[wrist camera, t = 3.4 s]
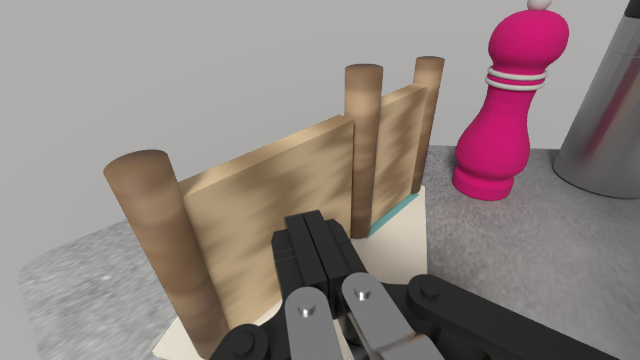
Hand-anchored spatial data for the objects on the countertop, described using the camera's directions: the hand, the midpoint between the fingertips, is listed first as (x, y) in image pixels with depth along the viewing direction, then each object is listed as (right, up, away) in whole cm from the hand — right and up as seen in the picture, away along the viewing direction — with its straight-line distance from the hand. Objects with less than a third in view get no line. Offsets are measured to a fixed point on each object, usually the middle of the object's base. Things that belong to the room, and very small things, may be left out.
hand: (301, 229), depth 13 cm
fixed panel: (+8, -1, +19) cm, 20 cm away
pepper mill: (+20, +1, +23) cm, 31 cm away
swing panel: (-2, -6, +11) cm, 13 cm away
